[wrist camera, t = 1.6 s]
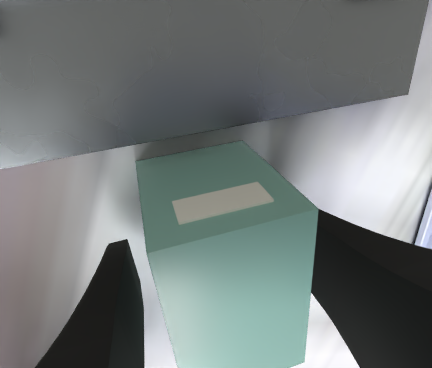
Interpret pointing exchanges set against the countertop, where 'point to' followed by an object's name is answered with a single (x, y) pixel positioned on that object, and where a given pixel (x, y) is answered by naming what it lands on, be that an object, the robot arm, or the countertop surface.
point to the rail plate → (188, 67)
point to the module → (229, 256)
